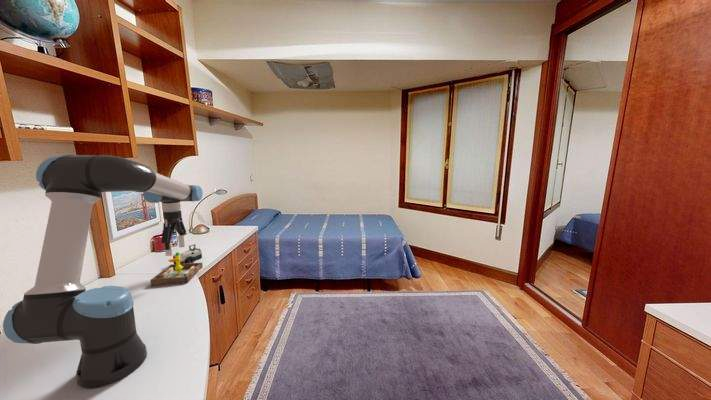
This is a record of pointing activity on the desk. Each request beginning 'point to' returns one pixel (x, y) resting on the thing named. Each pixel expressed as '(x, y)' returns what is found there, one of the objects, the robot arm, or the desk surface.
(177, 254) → the toy figure
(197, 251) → the camera
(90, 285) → the desk surface
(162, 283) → the walled box
